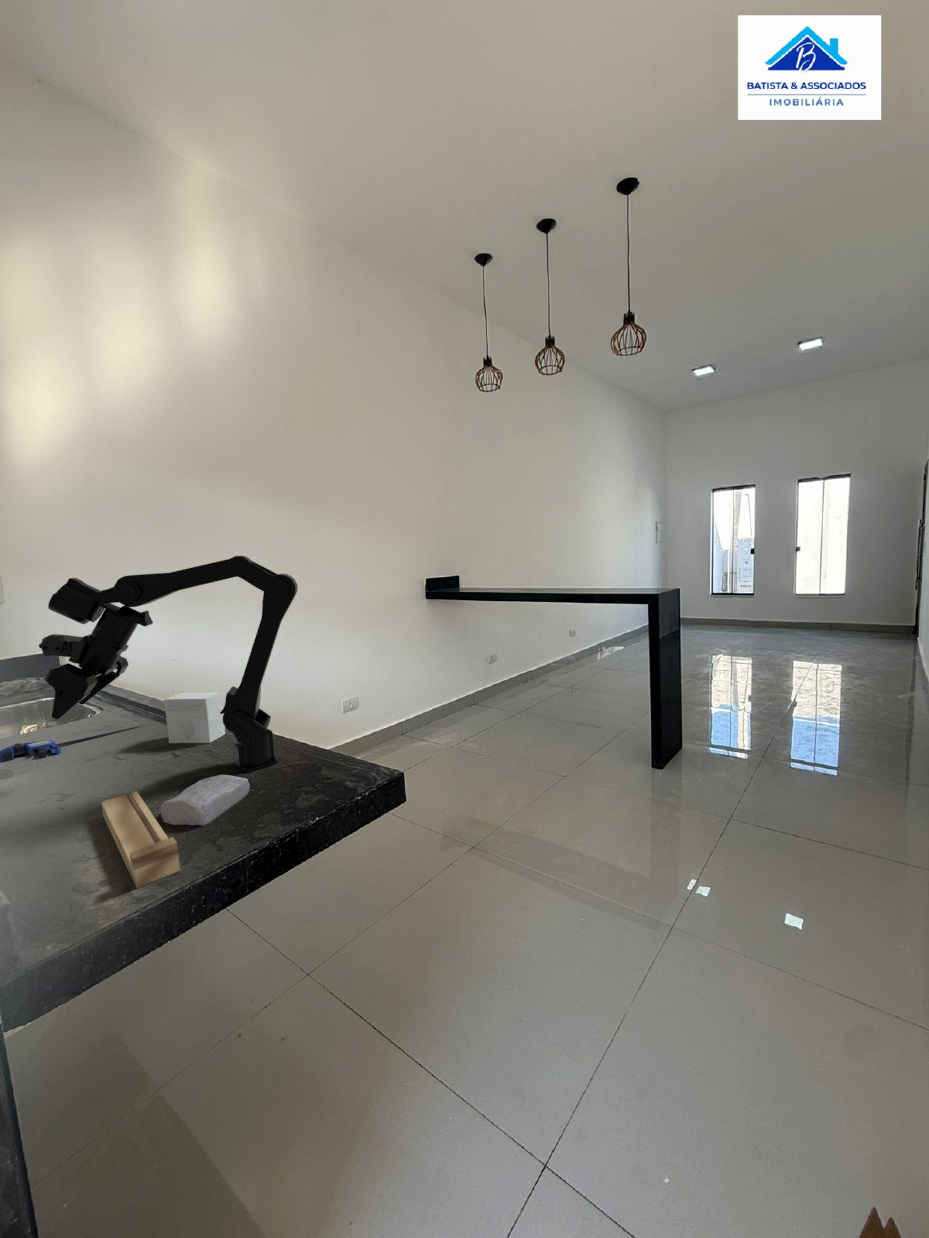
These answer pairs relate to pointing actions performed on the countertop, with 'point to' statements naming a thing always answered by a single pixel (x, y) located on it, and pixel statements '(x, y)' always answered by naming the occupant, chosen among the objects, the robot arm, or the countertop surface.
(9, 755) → the bar clamp
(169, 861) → the wooden grooved rail
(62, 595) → the robot arm
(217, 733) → the skincare box
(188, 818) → the stone block
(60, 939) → the countertop surface
